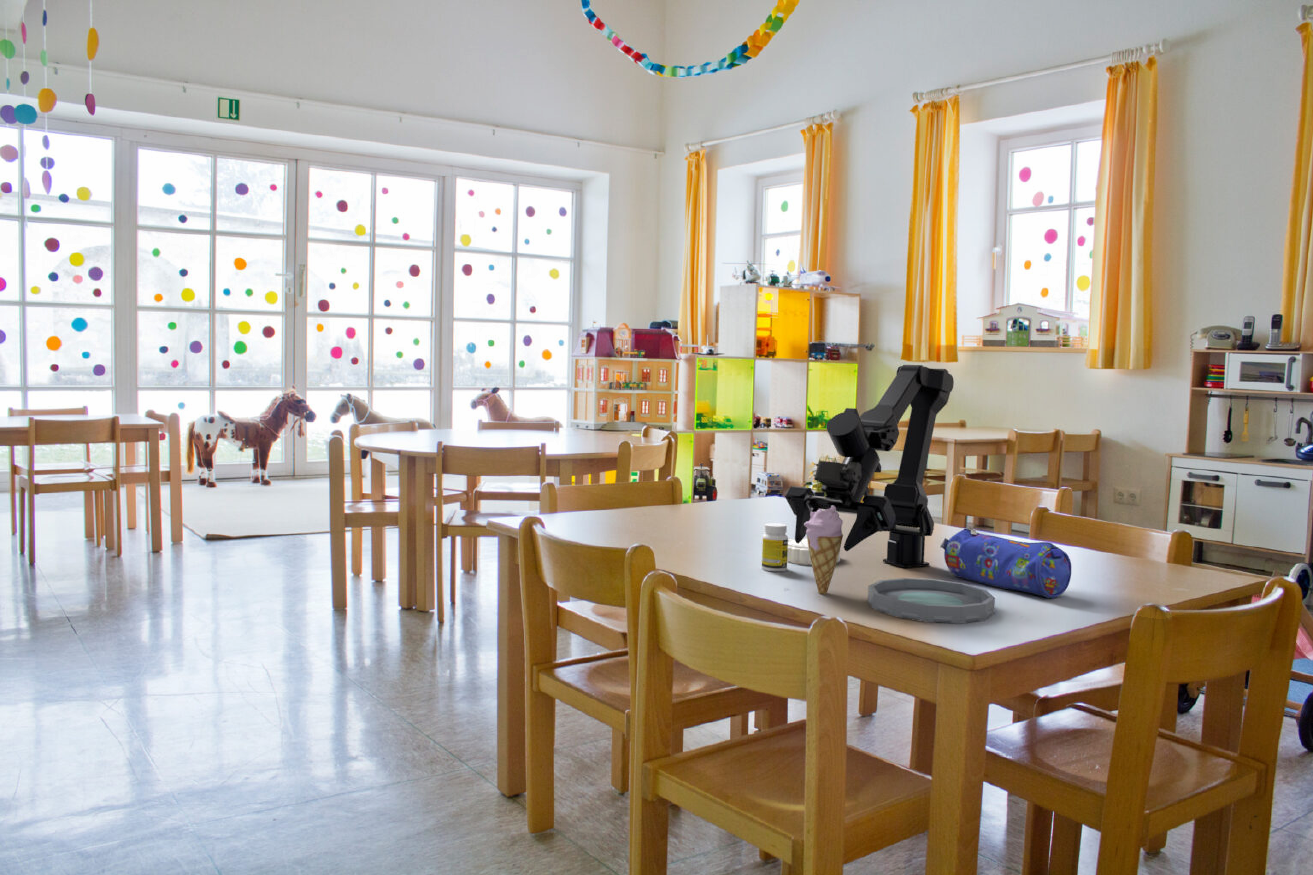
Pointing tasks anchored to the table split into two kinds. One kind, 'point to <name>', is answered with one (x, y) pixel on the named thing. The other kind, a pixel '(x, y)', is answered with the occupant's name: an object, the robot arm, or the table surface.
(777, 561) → the supplement bottle
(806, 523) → the ice cream cone
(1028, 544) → the pencil case
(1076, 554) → the table surface
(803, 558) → the mooncake
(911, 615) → the round tray
